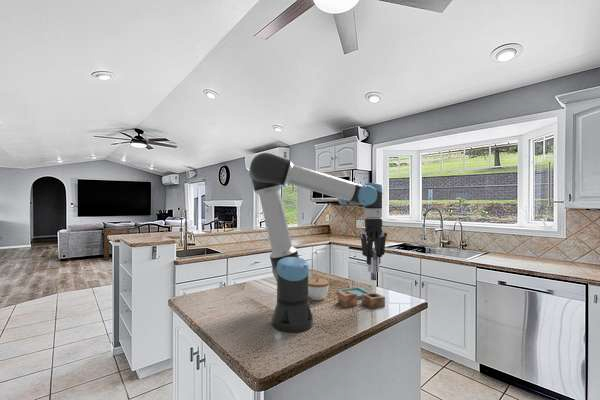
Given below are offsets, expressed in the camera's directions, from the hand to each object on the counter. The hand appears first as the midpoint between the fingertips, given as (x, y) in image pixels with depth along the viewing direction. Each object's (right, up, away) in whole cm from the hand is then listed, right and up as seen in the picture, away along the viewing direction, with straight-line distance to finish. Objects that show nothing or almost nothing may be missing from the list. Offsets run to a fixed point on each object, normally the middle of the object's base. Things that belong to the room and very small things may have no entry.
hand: (373, 271), depth 127 cm
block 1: (-11, -15, +1) cm, 18 cm away
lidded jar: (-24, -15, +8) cm, 30 cm away
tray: (-6, -15, +13) cm, 21 cm away
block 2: (0, -15, 0) cm, 15 cm away
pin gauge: (0, -4, 0) cm, 4 cm away
